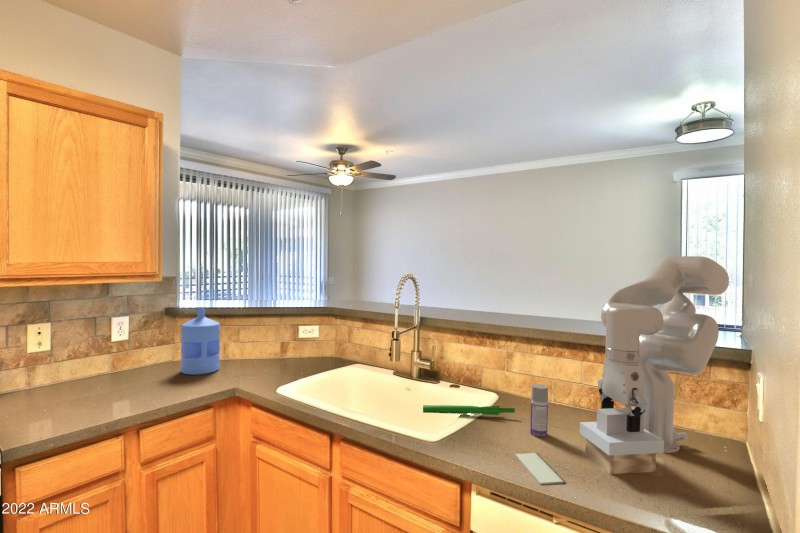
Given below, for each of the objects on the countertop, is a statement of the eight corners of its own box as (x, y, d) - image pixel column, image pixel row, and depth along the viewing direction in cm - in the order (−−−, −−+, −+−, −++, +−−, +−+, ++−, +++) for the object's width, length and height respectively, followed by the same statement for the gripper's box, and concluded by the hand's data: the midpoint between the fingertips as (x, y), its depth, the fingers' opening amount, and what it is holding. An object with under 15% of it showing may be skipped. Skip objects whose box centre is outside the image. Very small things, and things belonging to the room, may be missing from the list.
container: (533, 432, 123) (535, 382, 122) (549, 437, 120) (550, 386, 119) (527, 437, 119) (528, 386, 119) (543, 442, 116) (545, 389, 116)
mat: (571, 452, 110) (571, 451, 110) (604, 480, 96) (604, 479, 96) (515, 455, 108) (515, 454, 108) (540, 484, 94) (540, 482, 94)
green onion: (423, 417, 136) (516, 419, 131) (422, 407, 136) (515, 408, 131) (424, 411, 141) (514, 413, 136) (424, 402, 141) (513, 403, 136)
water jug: (177, 369, 184) (178, 307, 184) (214, 364, 194) (215, 305, 193) (184, 377, 172) (184, 310, 171) (223, 371, 181) (224, 308, 181)
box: (627, 455, 109) (628, 425, 109) (655, 475, 99) (656, 442, 99) (585, 457, 107) (586, 427, 107) (609, 478, 97) (610, 444, 97)
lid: (628, 431, 110) (629, 402, 110) (663, 452, 98) (664, 419, 98) (579, 433, 108) (580, 403, 108) (609, 455, 96) (610, 421, 96)
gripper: (661, 364, 95) (659, 437, 95) (613, 348, 112) (611, 410, 112) (632, 364, 94) (629, 438, 94) (587, 348, 111) (585, 411, 111)
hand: (619, 423), depth 103 cm, fingers open, 9 cm apart
